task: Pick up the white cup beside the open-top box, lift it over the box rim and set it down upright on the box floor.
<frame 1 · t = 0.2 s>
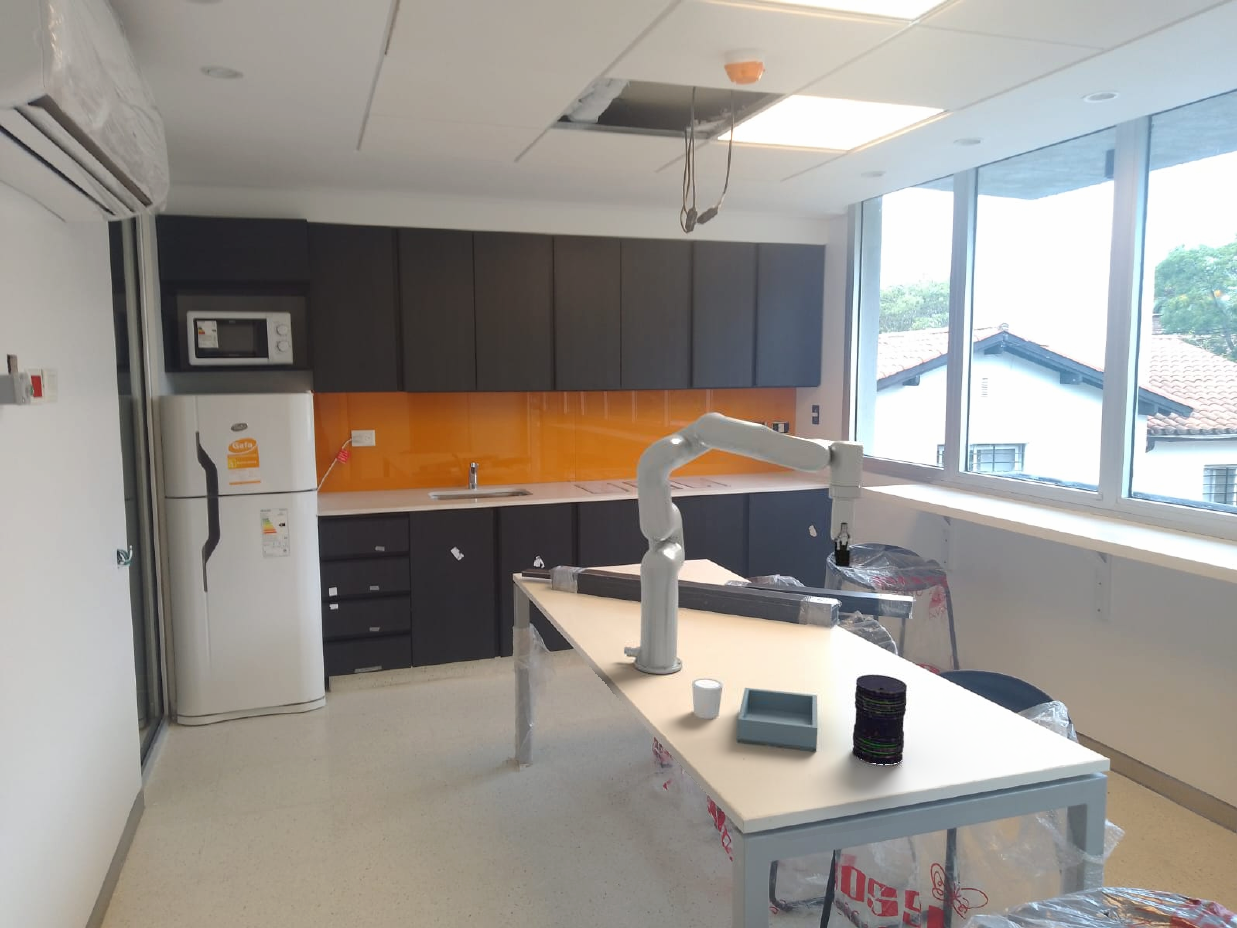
hand: (841, 561, 202), 31 cm above the table, tool pointing down, fingers open, 9 cm apart
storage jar: (877, 755, 168), on the table
open box: (778, 728, 179), on the table
white cup: (706, 714, 186), on the table
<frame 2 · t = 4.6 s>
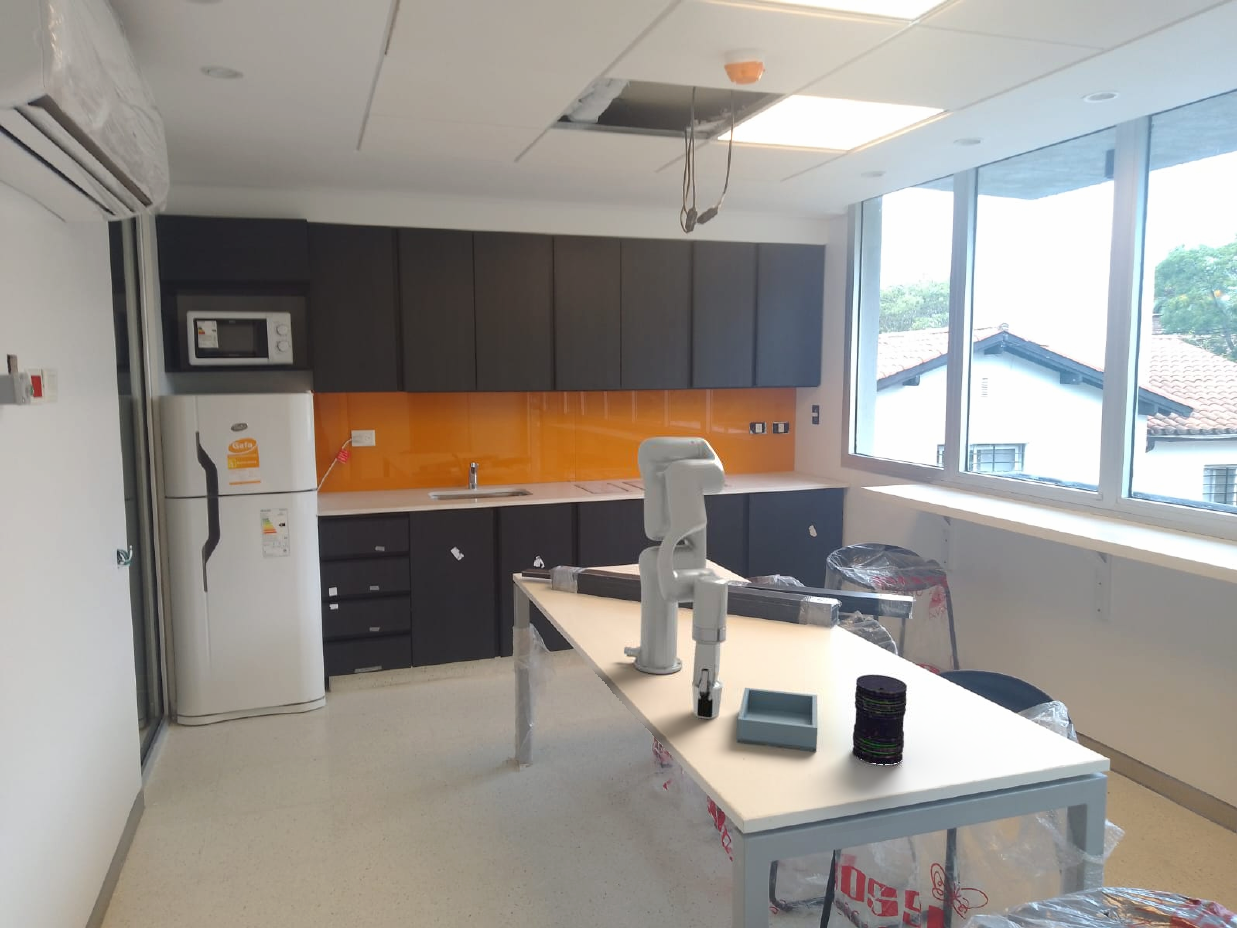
hand: (706, 709, 186), 1 cm above the table, tool pointing down, fingers closed on white cup, 5 cm apart
white cup: (706, 714, 186), on the table, touching gripper
everything else where it was.
when the fingers open (3 cm above the table, at t = 11.0 s): white cup drops 2 cm, resting on open box.
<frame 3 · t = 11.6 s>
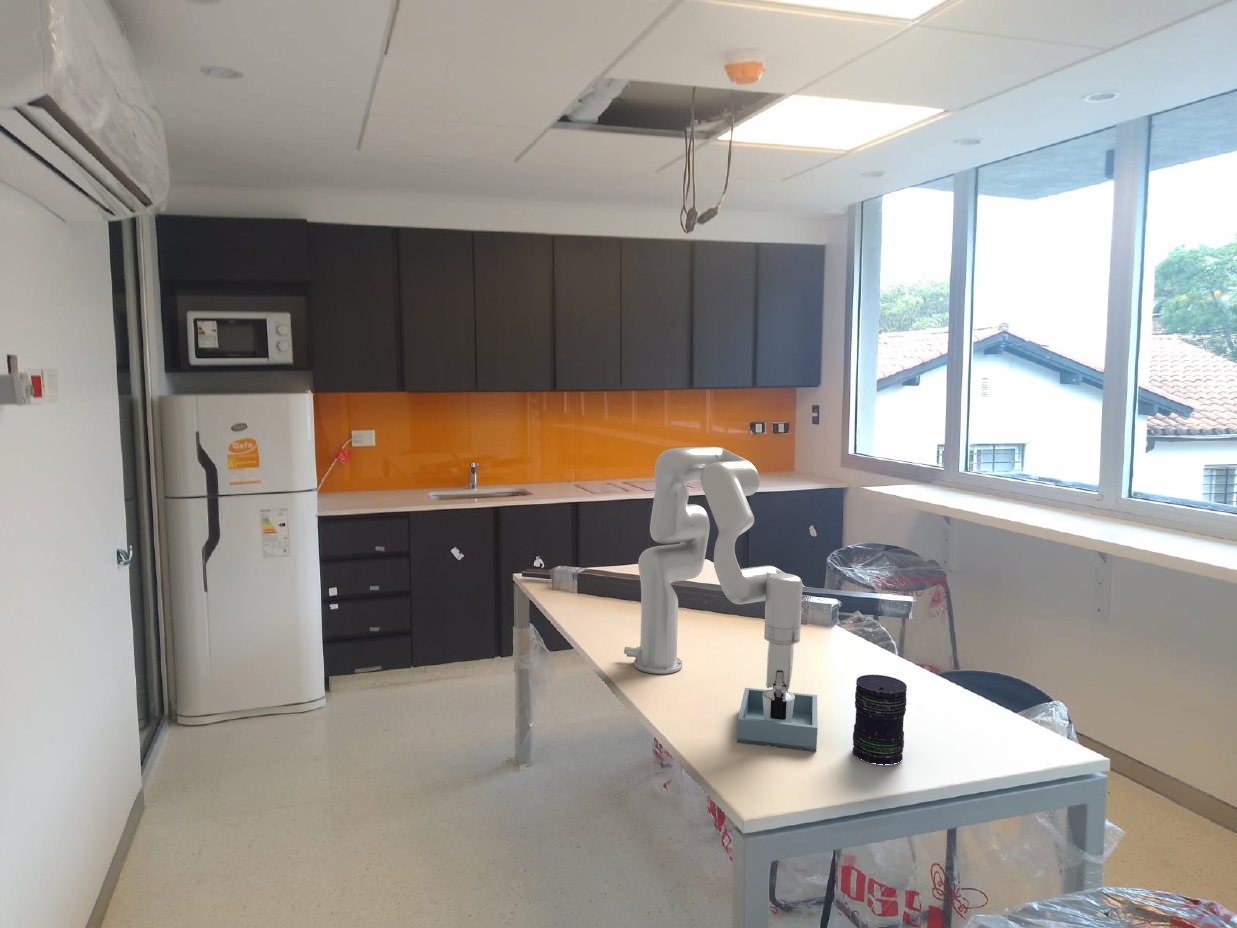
hand: (778, 709, 178), 4 cm above the table, tool pointing down, fingers open, 9 cm apart
white cup: (777, 726, 178), point 1 cm above the table, touching open box
everything else where it was.
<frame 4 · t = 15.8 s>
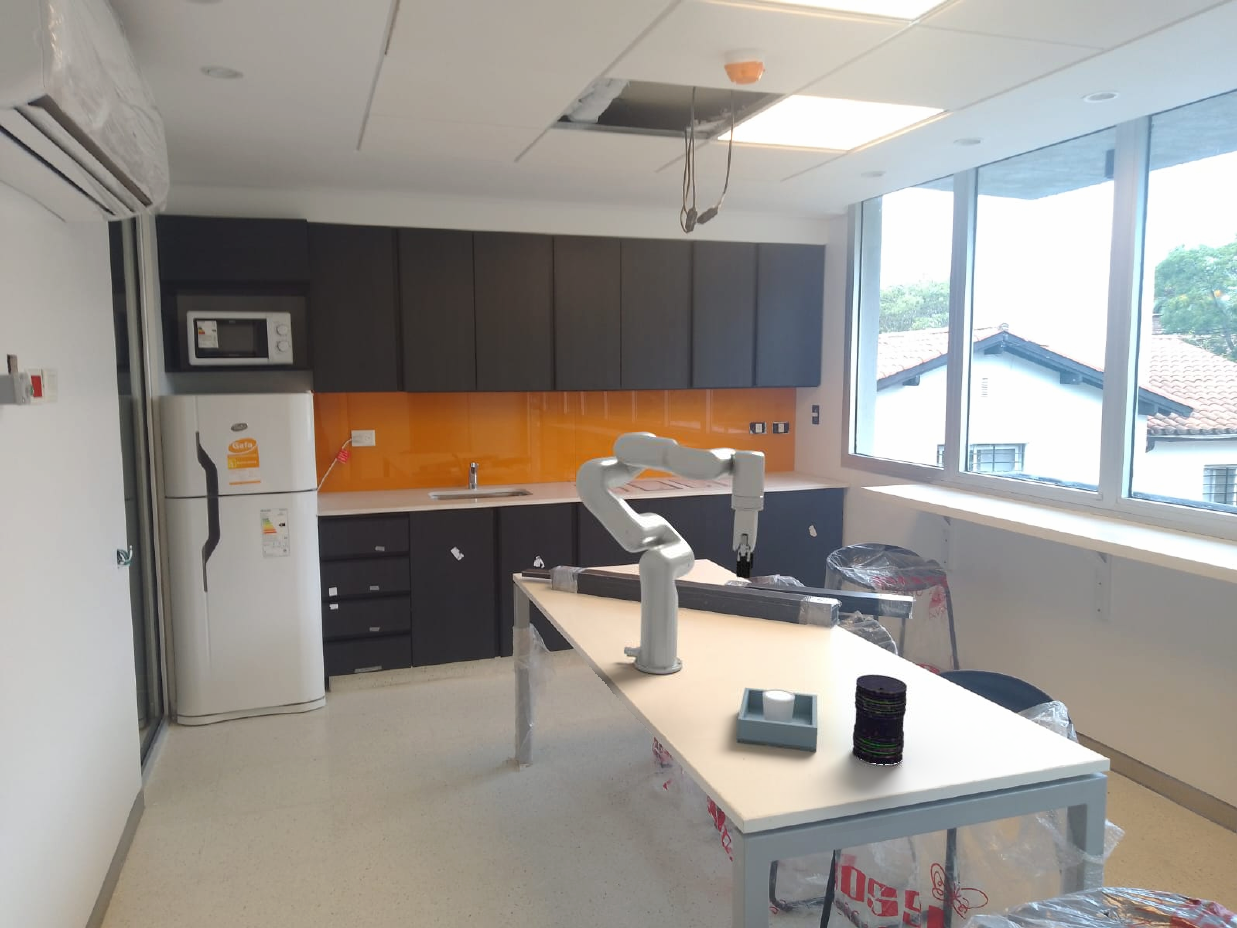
hand: (744, 572, 200), 28 cm above the table, tool pointing down, fingers open, 9 cm apart
nothing on the table moved.
at the end: white cup inside the target area on the open box (0.4 cm from its centre), point 0.6 cm above the open box's base; white cup tilted 0°; the gripper is holding nothing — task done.
